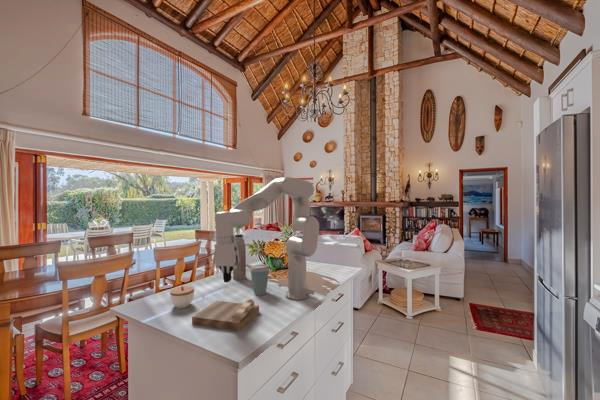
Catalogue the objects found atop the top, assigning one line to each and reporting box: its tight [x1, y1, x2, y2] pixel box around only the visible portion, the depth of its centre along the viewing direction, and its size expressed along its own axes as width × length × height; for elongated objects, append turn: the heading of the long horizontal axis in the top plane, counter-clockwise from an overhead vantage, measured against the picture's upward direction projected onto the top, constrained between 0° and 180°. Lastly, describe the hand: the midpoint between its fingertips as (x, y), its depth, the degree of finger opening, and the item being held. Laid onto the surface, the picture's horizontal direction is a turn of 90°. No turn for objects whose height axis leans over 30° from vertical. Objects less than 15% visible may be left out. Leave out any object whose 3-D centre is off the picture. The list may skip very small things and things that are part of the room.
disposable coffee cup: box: [250, 264, 271, 296], centre depth 149 cm, size 11×11×15 cm
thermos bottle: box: [232, 234, 247, 281], centre depth 176 cm, size 8×8×28 cm
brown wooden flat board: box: [191, 300, 260, 331], centre depth 119 cm, size 22×18×3 cm
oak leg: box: [232, 298, 255, 323], centre depth 115 cm, size 17×3×3 cm, turn 170°
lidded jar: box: [169, 285, 195, 309], centre depth 132 cm, size 11×11×9 cm
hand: (227, 281), depth 120 cm, fingers closed
